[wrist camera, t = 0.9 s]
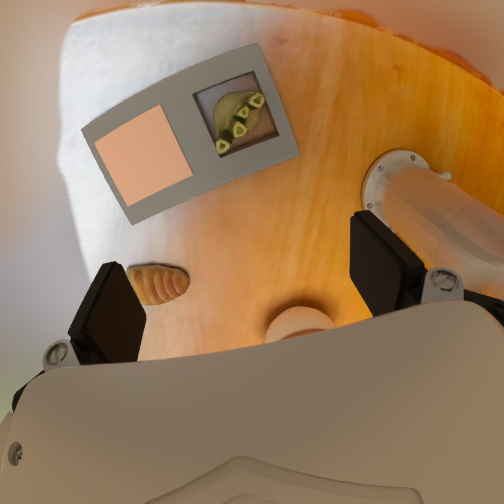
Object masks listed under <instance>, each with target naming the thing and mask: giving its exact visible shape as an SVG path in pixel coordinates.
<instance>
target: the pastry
mask: <svg viewBox="0 0 504 504" xmlns="http://www.w3.org/2000/svg"><path fill="white" fill-rule="evenodd" d="M126 275H127V277H128V279H129V281H130V283H131V285H132V287H133V289H134V291H135V293H136V295H137V297H138V299H139V301H140V303H141V305H160V304H163V303H166V302H169V301H170V300H173V299H175V298H177V297H179V296H181V295H183V294H184V293H185V292H186V290H187V289H188V286H189V284H190V282H189V278H188V276H187V275H186V274H185V273H184V272H183V271H182V270H180V269H176V268H169V267H165V266H162V265H159V264H156V265H141V266H135V267H131V268H128V269H127V270H126Z"/></svg>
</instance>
